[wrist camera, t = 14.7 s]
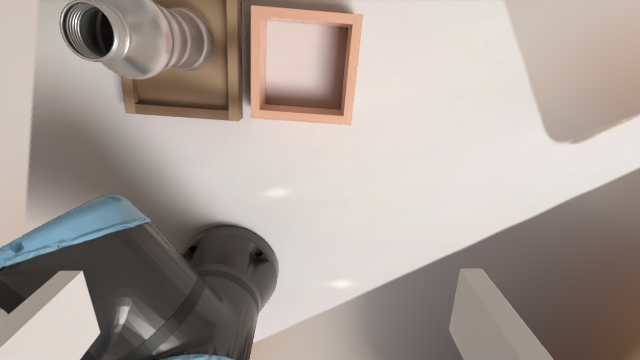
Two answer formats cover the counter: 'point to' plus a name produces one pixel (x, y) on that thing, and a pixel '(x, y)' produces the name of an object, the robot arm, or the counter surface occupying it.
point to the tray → (197, 72)
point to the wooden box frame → (259, 64)
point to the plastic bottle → (137, 36)
